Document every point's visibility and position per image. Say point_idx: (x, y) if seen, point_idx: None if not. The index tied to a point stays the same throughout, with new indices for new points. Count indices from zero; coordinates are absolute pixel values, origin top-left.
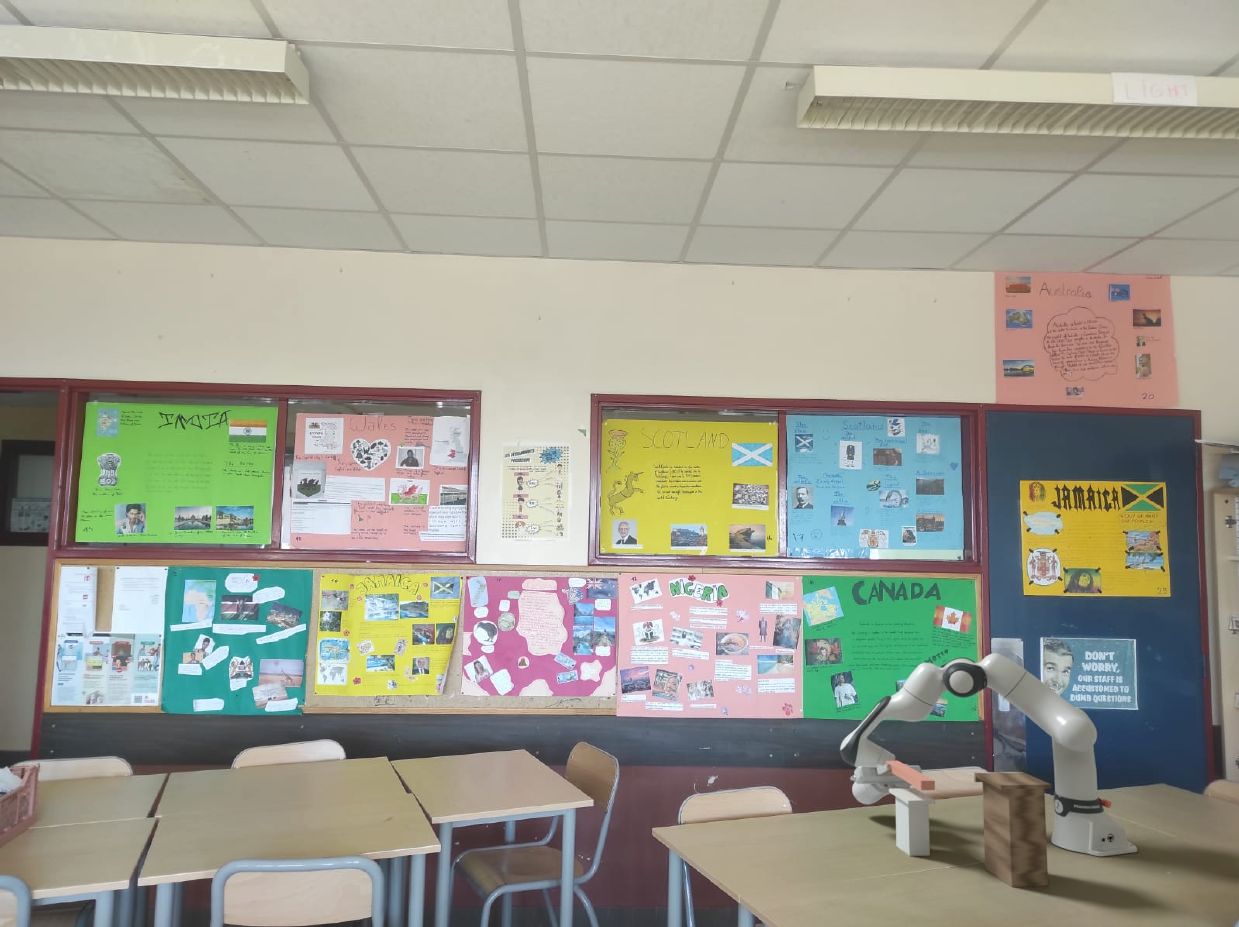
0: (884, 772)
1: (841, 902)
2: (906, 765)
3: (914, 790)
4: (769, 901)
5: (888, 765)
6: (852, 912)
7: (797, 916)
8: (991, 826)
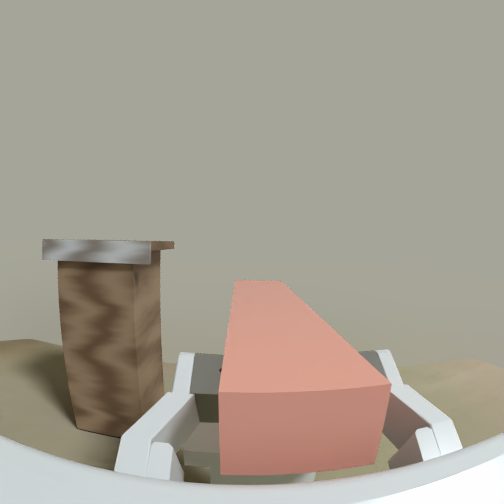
0: (387, 429)
1: (424, 380)
2: (231, 326)
3: (213, 427)
4: (489, 370)
5: (365, 354)
6: (410, 370)
7: (456, 361)
8: (145, 346)
